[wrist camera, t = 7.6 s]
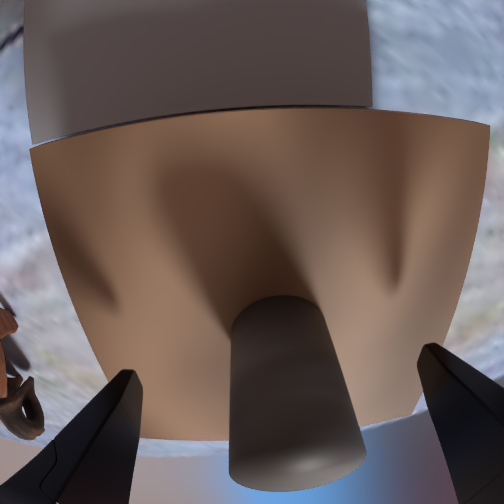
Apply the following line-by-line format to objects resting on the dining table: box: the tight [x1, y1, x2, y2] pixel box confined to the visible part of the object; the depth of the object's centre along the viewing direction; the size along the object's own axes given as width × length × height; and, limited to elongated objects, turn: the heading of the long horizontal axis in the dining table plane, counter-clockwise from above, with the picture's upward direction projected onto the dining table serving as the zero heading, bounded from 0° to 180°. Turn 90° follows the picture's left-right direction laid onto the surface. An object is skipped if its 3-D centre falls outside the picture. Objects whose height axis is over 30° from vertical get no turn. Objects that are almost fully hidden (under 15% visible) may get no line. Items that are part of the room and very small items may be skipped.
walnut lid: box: [29, 108, 490, 492], centre depth 9 cm, size 14×14×6 cm
